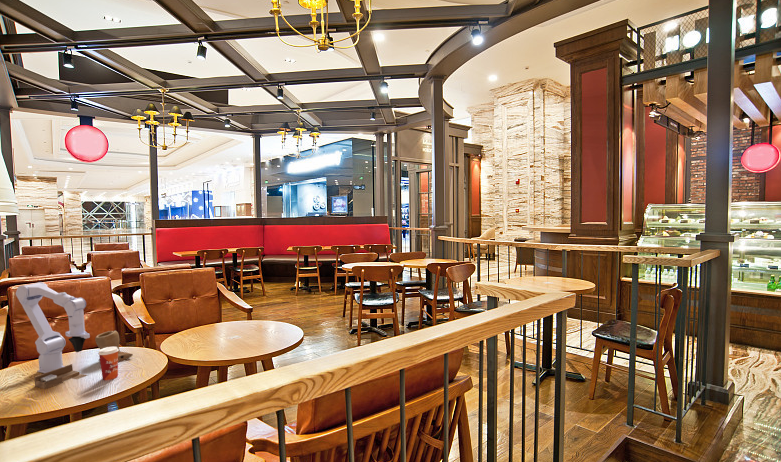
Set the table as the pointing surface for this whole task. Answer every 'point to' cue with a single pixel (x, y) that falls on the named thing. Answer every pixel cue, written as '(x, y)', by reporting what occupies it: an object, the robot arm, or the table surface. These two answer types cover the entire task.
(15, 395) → the table surface
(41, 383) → the walnut cabinet
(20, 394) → the table surface
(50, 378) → the steel cube
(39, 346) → the robot arm
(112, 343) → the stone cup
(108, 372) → the paper cup
